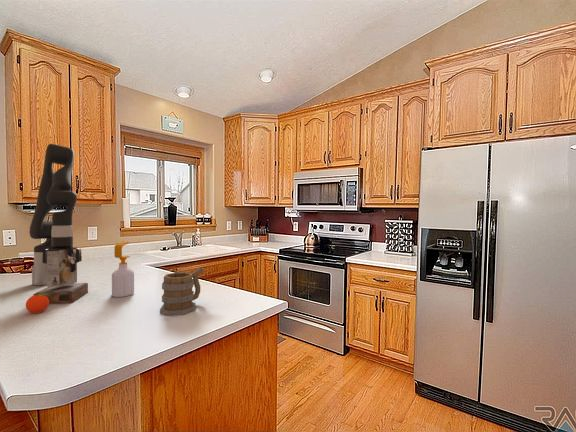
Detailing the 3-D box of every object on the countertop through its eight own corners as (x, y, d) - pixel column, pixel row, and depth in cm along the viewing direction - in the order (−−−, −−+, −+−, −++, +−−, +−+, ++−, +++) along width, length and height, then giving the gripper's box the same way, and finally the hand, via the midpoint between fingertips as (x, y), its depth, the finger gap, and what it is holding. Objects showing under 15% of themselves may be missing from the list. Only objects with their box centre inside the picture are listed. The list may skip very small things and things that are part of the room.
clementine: (50, 307, 118) (50, 290, 118) (54, 311, 114) (54, 293, 114) (23, 312, 112) (23, 294, 112) (27, 317, 108) (27, 297, 108)
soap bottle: (138, 292, 140) (138, 241, 140) (122, 298, 131) (121, 243, 131) (124, 291, 143) (124, 240, 143) (107, 296, 134) (107, 242, 134)
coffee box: (64, 281, 135) (64, 247, 135) (77, 282, 134) (77, 247, 134) (46, 286, 126) (46, 249, 126) (59, 287, 125) (59, 250, 125)
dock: (31, 306, 120) (31, 293, 120) (53, 294, 136) (53, 283, 136) (71, 303, 123) (71, 291, 123) (88, 292, 140) (87, 282, 140)
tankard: (174, 318, 108) (174, 277, 107) (154, 311, 114) (154, 273, 114) (215, 303, 125) (215, 268, 124) (195, 298, 131) (195, 265, 131)
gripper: (38, 236, 125) (38, 274, 125) (77, 236, 128) (77, 273, 128) (48, 235, 132) (48, 271, 132) (84, 234, 135) (84, 270, 136)
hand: (62, 272), depth 130 cm, fingers closed on coffee box, 8 cm apart
